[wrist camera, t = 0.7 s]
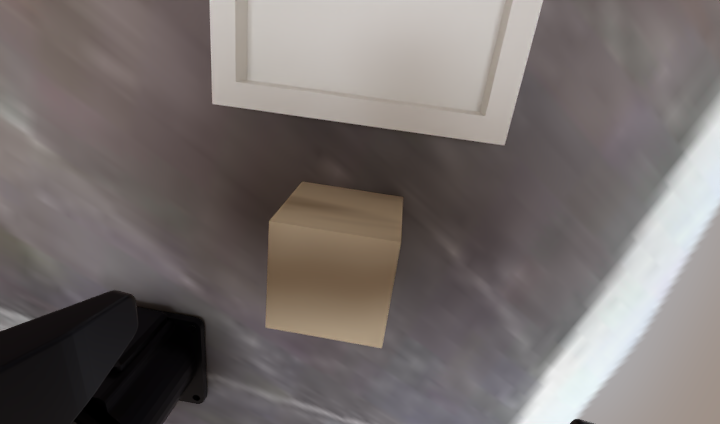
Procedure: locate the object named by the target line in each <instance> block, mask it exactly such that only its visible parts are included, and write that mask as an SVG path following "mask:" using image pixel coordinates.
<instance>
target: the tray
mask: <svg viewBox="0 0 720 424" xmlns="http://www.w3.org/2000/svg"><path fill="white" fill-rule="evenodd" d="M542 3H543V0H210V34H211V72H212V104H217V105H224V106H231V107H238V108H245V109H252V110H259V111H266V112H273V113H280V114H287V115H294V116H301V117H308V118H315V119H322V120H329V121H336V122H343V123H350V124H357V125H364V126H371V127H378V128H385V129H393V130H400V131H407V132H414V133H421V134H428V135H435V136H442V137H449V138H456V139H463V140H470V141H477V142H484V143H491V144H498V145H505V142H506V138H507V134H508V131H509V127H510V123H511V119H512V116H513V112H514V108H515V104H516V101H517V97H518V93H519V89H520V86H521V82H522V78H523V74H524V71H525V67H526V63H527V59H528V55H529V52H530V48H531V44H532V40H533V37H534V33H535V29H536V25H537V22H538V18H539V14H540V10H541V7H542Z"/></svg>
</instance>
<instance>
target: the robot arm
mask: <svg viewBox="0 0 720 424" xmlns="http://www.w3.org/2000/svg"><path fill="white" fill-rule="evenodd" d="M192 325H193V326H195V327H196V328H195V327H193V326H192ZM206 396H207V385H206V362H205V339H204V324H203V322H202V321H201V320H200V319H199V318H196V317H191V316H185V315H179V314H174V313H168V312H162V311H157V310H151V309H145V308H140V307H136V300H135V298H134V296H133V295H131V294H128V293H124V292H121V291H110V292H107V293H104V294H101V295H99V296H96V297H93V298H90V299H88V300H85V301H82V302H80V303H77V304H74V305H71V306H69V307H66V308H63V309H60V310H58V311H55V312H52V313H50V314H47V315H44V316H41V317H39V318H36V319H33V320H30V321H28V322H25V323H22V324H19V325H17V326H14V327H11V328H9V329H6V330H3V331H0V424H163V423H164V421H165V420H166V418H167V417H168V415H169V414H170V412H171V411H172V409H173V408H174V406H175V405H176V403H177V402H178V400H181V401H186V402H191V403H196V404H200V403H202V402H203V401H204V400H205V398H206ZM570 424H594V423H590V422H587V421H584V420H580V419H575V420H573V421H572V422H571V423H570Z"/></svg>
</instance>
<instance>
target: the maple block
mask: <svg viewBox="0 0 720 424" xmlns="http://www.w3.org/2000/svg"><path fill="white" fill-rule="evenodd" d="M402 212H403V197H400V196H394V195H387V194H381V193H374V192H368V191H361V190H355V189H348V188H342V187H335V186H329V185H322V184H316V183H309V182H303V181H302V182H301V183H300V185H299V186H298V187H297V188H296V189H295V191H294V192H293V193H292V194H291V195H290V197H289V198H288V199H287V200H286V201H285V203H284V204H283V205H282V206H281V207H280V209H279V210H278V211H277V212H276V213H275V215H274V216H273V217H272V218H271V219H270V221H269V236H268V267H267V298H266V328H271V329H276V330H282V331H288V332H293V333H299V334H304V335H310V336H315V337H321V338H327V339H332V340H338V341H343V342H349V343H355V344H360V345H366V346H371V347H377V348H382V345H383V339H384V334H385V328H386V323H387V317H388V312H389V306H390V301H391V295H392V290H393V284H394V279H395V273H396V268H397V262H398V257H399V251H400V246H401V234H402Z"/></svg>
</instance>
